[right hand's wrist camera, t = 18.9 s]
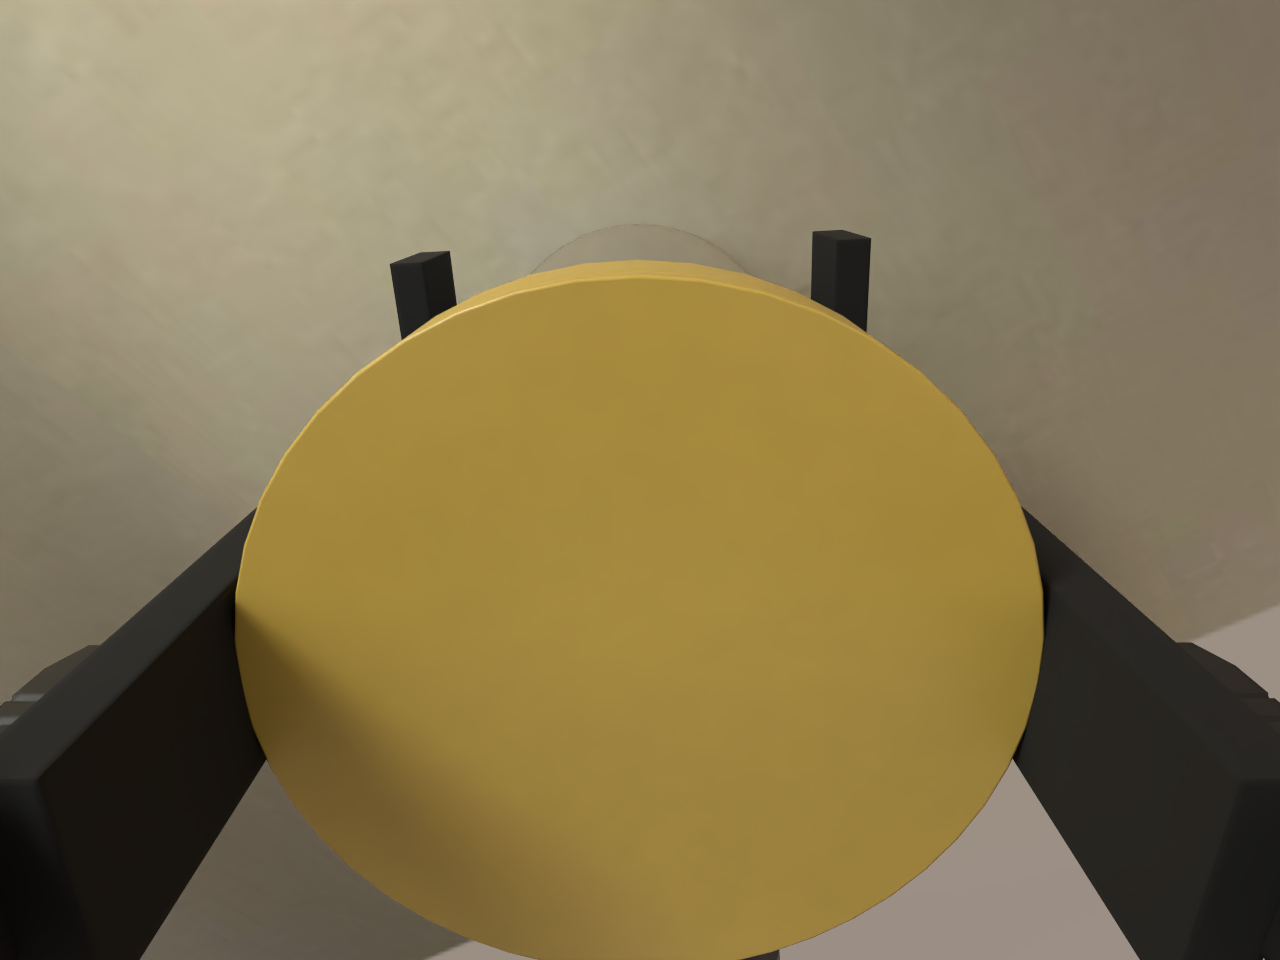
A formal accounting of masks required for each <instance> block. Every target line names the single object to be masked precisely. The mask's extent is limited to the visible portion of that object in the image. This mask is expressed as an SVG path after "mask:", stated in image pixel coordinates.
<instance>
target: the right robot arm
mask: <svg viewBox="0 0 1280 960" xmlns="http://www.w3.org/2000/svg"><path fill="white" fill-rule="evenodd" d="M1021 508H1022V511H1023V513H1024V516H1025V519H1026V522H1027V525H1028V528H1029V530H1030V533H1031V536H1032V539H1033V542H1034V545H1035V550H1036V556H1037V561H1038V566H1039V572H1040V577H1041V583H1042V588H1043V607H1044V645H1043V653H1042V659H1041V664H1040V670H1039V675H1038V680H1037V685H1036V690H1035V694H1034V699H1033V703H1032V708H1031V712H1030V716H1029V719H1028V723H1027V726H1026V729H1025V731H1024V733H1023V735H1022V738H1021V740H1020V742H1019V744H1018V747H1017V749H1016V751H1015V753H1014V756H1013V760H1014V762H1015V763H1016V765H1017V766H1018V768H1019V769H1020V771H1021V773H1022V774H1023V776H1024V777H1025V779H1026V780H1027V782H1028V784H1029V785H1030V787H1031V788H1032V790H1033V792H1034V793H1035V795H1036V796H1037V798H1038V799H1039V801H1040V803H1041V804H1042V806H1043V807H1044V809H1045V810H1046V812H1047V814H1048V815H1049V817H1050V818H1051V820H1052V821H1053V823H1054V825H1055V826H1056V828H1057V829H1058V831H1059V833H1060V834H1061V836H1062V837H1063V839H1064V841H1065V842H1066V844H1067V845H1068V847H1069V848H1070V850H1071V852H1072V853H1073V855H1074V856H1075V858H1076V859H1077V861H1078V863H1079V864H1080V866H1081V867H1082V869H1083V870H1084V872H1085V874H1086V875H1087V877H1088V878H1089V880H1090V882H1091V883H1092V885H1093V886H1094V888H1095V889H1096V891H1097V893H1098V894H1099V896H1100V897H1101V899H1102V901H1103V902H1104V904H1105V905H1106V907H1107V908H1108V910H1109V911H1110V913H1111V915H1112V916H1113V918H1114V919H1115V921H1116V923H1117V924H1118V926H1119V927H1120V929H1121V930H1122V932H1123V934H1124V935H1125V937H1126V938H1127V940H1128V942H1129V943H1130V945H1131V946H1132V948H1133V949H1134V951H1135V953H1136V954H1137V956H1138V957H1139V959H1140V960H1263V958H1264V959H1265V960H1280V702H1278V701H1277V700H1276V699H1275V698H1269V697H1268V692H1266V691H1265V690H1264V689H1263V688H1262V687H1260V686H1259V685H1258V684H1257V683H1256V682H1254V681H1253V680H1252V679H1251V678H1249V677H1248V676H1247V675H1246V674H1245V673H1243V672H1242V671H1241V670H1240V669H1239V668H1238V667H1236V666H1235V665H1233V664H1231V663H1229V662H1227V661H1226V660H1224V659H1222V658H1220V657H1218V656H1216V655H1214V654H1212V653H1210V652H1208V651H1206V650H1205V649H1203V648H1201V647H1199V646H1197V645H1195V644H1193V643H1176V642H1175V641H1173V640H1172V639H1171V638H1170V637H1169V636H1168V635H1167V634H1166V633H1164V632H1163V631H1162V630H1161V629H1160V628H1159V627H1158V626H1156V625H1155V624H1154V623H1153V622H1152V621H1151V620H1150V619H1149V618H1147V617H1146V616H1145V615H1144V614H1143V613H1142V612H1141V611H1139V610H1138V609H1137V608H1136V607H1135V606H1134V605H1133V604H1132V603H1130V602H1129V601H1128V600H1127V599H1126V598H1125V597H1124V596H1122V595H1121V594H1120V593H1119V592H1118V591H1117V590H1116V589H1114V588H1113V587H1112V586H1111V585H1110V584H1109V583H1108V582H1107V581H1105V580H1104V579H1103V578H1102V577H1101V576H1100V575H1099V574H1097V573H1096V572H1095V571H1094V570H1093V569H1092V568H1091V567H1090V566H1088V565H1087V564H1086V563H1085V562H1084V561H1083V560H1082V559H1080V558H1079V557H1078V556H1077V555H1076V554H1075V553H1074V552H1073V551H1071V550H1070V549H1069V548H1068V547H1067V546H1066V545H1065V544H1063V543H1062V542H1061V541H1060V540H1059V539H1058V538H1057V537H1056V536H1054V535H1053V534H1052V533H1051V532H1050V531H1049V530H1048V529H1046V528H1045V527H1044V526H1043V525H1042V524H1041V523H1040V522H1038V521H1037V520H1036V519H1035V518H1034V517H1033V516H1032V515H1031V514H1029V513H1028V512H1027V511H1026V510H1025V509H1024V508H1023V507H1021ZM256 510H257V508H256V509H255V510H253V511H252V512H251V513H250V514H249V515H248V516H247V517H245V518H244V519H243V520H242V521H241V522H240V523H239V524H238V525H236V526H235V527H234V528H233V529H232V530H231V531H230V532H228V533H227V534H226V535H225V536H224V537H223V538H222V539H221V540H219V541H218V542H217V543H216V544H215V545H214V546H213V547H211V548H210V549H209V550H208V551H207V552H206V553H205V554H204V555H202V556H201V557H200V558H199V559H198V560H197V561H196V562H194V563H193V564H192V565H191V566H190V567H189V568H188V569H186V570H185V571H184V572H183V573H182V574H181V575H180V576H179V577H177V578H176V579H175V580H174V581H173V582H172V583H171V584H169V585H168V586H167V587H166V588H165V589H164V590H163V591H162V592H160V593H159V594H158V595H157V596H156V597H155V598H154V599H152V600H151V601H150V602H149V603H148V604H147V605H146V606H145V607H143V608H142V609H141V610H140V611H139V612H138V613H137V614H135V615H134V616H133V617H132V618H131V619H130V620H129V621H128V622H126V623H125V624H124V625H123V626H122V627H121V628H120V629H118V630H117V631H116V632H115V633H114V634H113V635H112V636H110V637H109V638H108V639H107V640H106V641H105V642H104V643H103V644H101V645H89V646H87V647H85V648H83V649H81V650H79V651H77V652H75V653H74V654H72V655H70V656H68V657H66V658H64V659H62V660H60V661H58V662H57V663H55V664H53V665H51V666H49V667H47V668H45V669H44V670H43V671H41V672H40V673H39V674H38V675H37V676H35V677H34V678H33V679H32V680H31V681H30V682H28V683H27V684H26V685H25V686H24V687H22V688H21V689H20V690H19V691H18V692H16V693H15V694H14V695H13V696H12V701H11V702H4V703H3V704H2V705H1V706H0V960H140V958H141V957H142V955H143V953H144V952H145V950H146V949H147V947H148V946H149V944H150V942H151V941H152V939H153V938H154V936H155V934H156V933H157V931H158V930H159V928H160V927H161V925H162V923H163V922H164V920H165V919H166V917H167V915H168V914H169V912H170V911H171V909H172V908H173V906H174V904H175V903H176V901H177V900H178V898H179V897H180V895H181V893H182V892H183V890H184V889H185V887H186V885H187V884H188V882H189V881H190V879H191V878H192V876H193V874H194V873H195V871H196V870H197V868H198V867H199V865H200V863H201V862H202V860H203V859H204V857H205V855H206V854H207V852H208V851H209V849H210V848H211V846H212V844H213V843H214V841H215V840H216V838H217V837H218V835H219V833H220V832H221V830H222V829H223V827H224V825H225V824H226V822H227V821H228V819H229V818H230V816H231V814H232V813H233V811H234V810H235V808H236V807H237V805H238V803H239V802H240V800H241V799H242V797H243V795H244V794H245V792H246V791H247V789H248V788H249V786H250V784H251V783H252V781H253V780H254V778H255V777H256V775H257V773H258V772H259V770H260V769H261V767H262V765H263V764H264V762H265V761H266V759H267V758H266V756H265V754H264V752H263V749H262V747H261V745H260V743H259V740H258V738H257V736H256V734H255V732H254V729H253V727H252V723H251V720H250V716H249V712H248V707H247V703H246V698H245V694H244V690H243V685H242V680H241V674H240V669H239V664H238V659H237V653H236V647H235V599H236V588H237V582H238V577H239V571H240V566H241V560H242V555H243V549H244V544H245V542H246V539H247V536H248V533H249V530H250V527H251V525H252V522H253V519H254V516H255V513H256Z"/></svg>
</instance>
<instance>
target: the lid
mask: <svg viewBox="0 0 1280 960" xmlns="http://www.w3.org/2000/svg"><path fill="white" fill-rule="evenodd" d="M1043 645H1044V607H1043V588H1042V583H1041V577H1040V572H1039V566H1038V561H1037V556H1036V550H1035V545H1034V542H1033V539H1032V536H1031V533H1030V530H1029V528H1028V525H1027V522H1026V519H1025V516H1024V513H1023V511H1022V508H1021V505H1020V502H1019V499H1018V497H1017V495H1016V493H1015V491H1014V490H1013V488H1012V486H1011V484H1010V482H1009V480H1008V478H1007V477H1006V475H1005V473H1004V471H1003V469H1002V467H1001V466H1000V464H999V462H998V460H997V458H996V456H995V455H994V453H993V451H992V450H991V449H990V447H989V446H988V445H987V444H986V442H985V441H984V440H983V438H982V437H981V436H980V434H979V433H978V432H977V430H976V429H975V428H974V427H973V425H972V424H971V423H970V421H969V420H968V419H967V417H966V416H965V415H964V414H963V412H962V411H961V410H960V409H959V408H958V407H957V406H956V405H955V404H954V403H953V402H952V401H951V400H950V399H949V398H948V397H947V396H946V395H945V394H944V393H943V392H942V391H940V390H939V389H938V388H937V387H936V386H935V385H934V384H933V383H932V382H931V381H930V380H929V379H928V378H927V377H926V376H925V375H924V374H923V373H922V372H921V371H919V370H918V369H916V368H915V367H914V366H912V365H911V364H909V363H908V362H907V361H905V360H904V359H903V358H901V357H900V356H898V355H897V354H896V353H894V352H893V351H891V350H890V349H889V348H887V347H886V346H884V345H883V344H882V343H880V342H879V341H877V340H876V339H875V338H873V337H872V336H870V335H869V334H868V333H866V332H865V331H863V330H862V329H860V328H859V327H858V326H856V325H855V324H853V323H852V322H851V321H849V320H848V319H846V318H845V317H844V316H842V315H840V314H838V313H836V312H834V311H833V310H831V309H829V308H827V307H825V306H823V305H821V304H819V303H817V302H815V301H813V300H811V299H809V298H807V297H805V296H804V295H802V294H800V293H798V292H796V291H793V290H790V289H787V288H784V287H781V286H779V285H776V284H773V283H770V282H767V281H764V280H761V279H759V278H756V277H753V276H750V275H747V274H743V273H738V272H733V271H729V270H724V269H719V268H714V267H709V266H704V265H699V264H694V263H681V262H666V261H651V260H627V261H613V262H598V263H584V264H579V265H575V266H570V267H565V268H560V269H555V270H551V271H546V272H541V273H536V274H531V275H529V276H526V277H523V278H520V279H517V280H515V281H512V282H509V283H506V284H503V285H501V286H498V287H495V288H492V289H489V290H486V291H484V292H481V293H479V294H477V295H475V296H473V297H471V298H470V299H468V300H466V301H464V302H462V303H460V304H458V305H456V306H454V307H452V308H450V309H448V310H447V311H445V312H443V313H441V314H439V315H437V316H435V317H434V318H432V319H431V320H430V321H428V322H427V323H425V324H424V325H423V326H421V327H420V328H418V329H417V330H416V331H414V332H413V333H411V334H410V335H409V336H407V337H406V338H404V339H403V340H402V341H400V342H399V343H398V344H396V345H395V346H393V347H392V348H391V349H389V350H388V351H386V352H385V353H384V354H382V355H381V356H379V357H378V358H377V359H375V360H374V361H372V362H371V363H370V364H368V365H367V366H365V367H364V368H363V369H361V370H360V371H359V372H357V373H356V374H355V375H354V376H353V377H352V378H351V379H350V380H349V381H348V382H347V383H346V384H345V385H344V386H343V387H342V388H341V389H340V390H338V391H337V392H336V393H335V394H334V395H333V396H332V397H331V398H330V399H329V400H328V401H327V402H326V403H325V404H324V405H323V406H322V407H321V408H320V409H319V410H318V411H317V412H316V413H315V415H314V416H313V417H312V419H311V420H310V421H309V423H308V424H307V425H306V426H305V428H304V429H303V430H302V432H301V433H300V434H299V436H298V437H297V438H296V440H295V441H294V442H293V444H292V445H291V446H290V448H289V449H288V450H287V452H286V453H285V454H284V456H283V458H282V460H281V462H280V464H279V465H278V467H277V469H276V471H275V473H274V475H273V477H272V478H271V480H270V482H269V484H268V486H267V488H266V490H265V491H264V493H263V495H262V497H261V499H260V502H259V505H258V507H257V510H256V513H255V516H254V519H253V522H252V525H251V527H250V530H249V533H248V536H247V539H246V542H245V544H244V549H243V555H242V560H241V566H240V571H239V577H238V582H237V588H236V599H235V647H236V653H237V659H238V664H239V669H240V674H241V680H242V685H243V690H244V694H245V698H246V703H247V707H248V712H249V716H250V720H251V723H252V727H253V729H254V732H255V734H256V736H257V738H258V740H259V743H260V745H261V747H262V749H263V752H264V754H265V756H266V758H267V761H268V763H269V765H270V767H271V769H272V771H273V772H274V774H275V776H276V777H277V779H278V780H279V782H280V784H281V785H282V787H283V788H284V790H285V792H286V793H287V795H288V796H289V798H290V800H291V801H292V803H293V804H294V806H295V807H296V808H297V810H298V811H299V812H300V813H301V815H302V816H303V817H304V818H305V819H306V821H307V822H308V823H309V824H310V826H311V827H312V828H313V829H314V830H315V832H316V833H317V834H318V835H319V837H320V838H321V839H322V840H323V841H324V842H325V843H326V844H327V845H328V846H329V847H330V848H331V849H332V850H333V851H334V852H335V853H337V854H338V855H339V856H340V857H341V858H342V859H343V860H344V861H345V862H346V863H347V864H348V865H349V866H350V867H351V868H352V869H353V870H354V871H356V872H357V873H358V874H360V875H361V876H362V877H364V878H365V879H366V880H368V881H369V882H370V883H372V884H373V885H374V886H375V887H377V888H378V889H379V890H381V891H382V892H383V893H385V894H386V895H387V896H389V897H390V898H392V899H394V900H395V901H397V902H399V903H400V904H402V905H404V906H405V907H407V908H409V909H410V910H412V911H414V912H415V913H417V914H419V915H420V916H422V917H424V918H425V919H427V920H429V921H431V922H434V923H436V924H438V925H440V926H442V927H444V928H446V929H449V930H451V931H453V932H455V933H457V934H459V935H462V936H464V937H466V938H468V939H471V940H474V941H477V942H480V943H483V944H486V945H489V946H491V947H495V948H498V949H500V950H503V951H506V952H509V953H513V954H517V955H521V956H526V957H530V958H534V959H538V960H741V959H745V958H749V957H753V956H757V955H761V954H765V953H770V952H773V951H776V950H779V949H781V948H784V947H787V946H790V945H793V944H796V943H798V942H802V941H804V940H807V939H810V938H813V937H815V936H817V935H819V934H822V933H824V932H826V931H828V930H830V929H832V928H834V927H836V926H839V925H841V924H843V923H845V922H847V921H849V920H851V919H854V918H855V917H857V916H859V915H860V914H862V913H863V912H865V911H867V910H868V909H870V908H872V907H873V906H875V905H877V904H878V903H880V902H882V901H883V900H885V899H887V898H888V897H890V896H891V895H893V894H894V893H895V892H897V891H898V890H899V889H901V888H902V887H903V886H905V885H906V884H907V883H908V882H910V881H911V880H912V879H914V878H915V877H916V876H918V875H919V874H920V873H922V872H923V871H924V870H926V869H927V868H928V867H929V866H930V865H931V864H932V863H933V862H934V861H935V860H936V859H937V858H938V857H939V856H940V855H941V854H942V853H943V852H944V851H945V850H946V849H947V848H948V847H949V846H951V845H952V844H953V843H954V842H955V841H956V840H957V839H958V838H959V836H960V835H961V834H962V833H963V831H964V830H965V829H966V828H967V826H968V825H969V824H970V823H971V822H972V820H973V819H974V818H975V817H976V815H977V814H978V813H979V812H980V810H981V809H982V808H983V807H984V805H985V804H986V803H987V801H988V799H989V798H990V796H991V795H992V793H993V791H994V790H995V788H996V786H997V785H998V783H999V782H1000V780H1001V778H1002V777H1003V775H1004V773H1005V772H1006V770H1007V769H1008V767H1009V765H1010V762H1011V760H1012V758H1013V756H1014V753H1015V751H1016V749H1017V747H1018V744H1019V742H1020V740H1021V738H1022V735H1023V733H1024V731H1025V729H1026V726H1027V723H1028V719H1029V716H1030V712H1031V708H1032V703H1033V699H1034V694H1035V690H1036V685H1037V680H1038V675H1039V670H1040V664H1041V659H1042V653H1043Z"/></svg>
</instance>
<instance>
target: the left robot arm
mask: <svg viewBox="0 0 1280 960" xmlns="http://www.w3.org/2000/svg"><path fill="white" fill-rule="evenodd" d="M870 249H871V238H868V237H865V236H861V235H858V234H854V233H851V232H848V231H844V230H833V231H814V232H813V238H812V280H811V300H813V301H815V302H817V303H819V304H821V305H823V306H825V307H827V308H829V309H831V310H833V311H834V312H836V313H838V314H840V315H842V316H844V317H845V318H846V319H848V320H849V321H851V322H852V323H853V324H855V325H856V326H858V327H859V328H860V329H862V330H863V331H865V332H866V331H867V310H868V290H869V269H870ZM390 268H391V274H392V281H393V287H394V293H395V300H396V306H397V313H398V319H399V325H400V332H401V338H402V340H403V339H404V338H406V337H407V336H409V335H410V334H411V333H413V332H414V331H416V330H417V329H418V328H420V327H421V326H423V325H424V324H425V323H427V322H428V321H430V320H431V319H432V318H434V317H435V316H437V315H439V314H441V313H443V312H445V311H447V310H448V309H450V308H452V307H454V306H456V305H457V303H456V296H455V288H454V280H453V273H452V265H451V257H450V251H441V252H423V253H418V254H415V255H413V256H410V257H407V258H405V259H402V260H399V261H397V262H394V263H391V264H390ZM741 960H780V955H779V950H776V951H773V952H770V953H765V954H761V955H757V956H753V957H749V958H745V959H741Z"/></svg>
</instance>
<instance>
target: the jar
mask: <svg viewBox="0 0 1280 960" xmlns="http://www.w3.org/2000/svg"><path fill="white" fill-rule="evenodd" d="M627 260H651V261H666V262H681V263H694V264H699V265H704V266H709V267H714V268H719V269H724V270H729V271H733V272H738V273H743V274H747V275H749V274H748V273H747V272H746V271H745V270H744V269H743V268H742V267H741V266H740V265H738V264H737V263H736V262H735V261H734V260H733V259H732V258H731V257H729V256H728V255H727V254H726V253H724V252H723V251H721V250H720V249H718V248H717V247H715V246H714V245H712V244H711V243H709V242H707V241H705V240H703V239H701V238H699V237H697V236H694V235H692V234H689V233H686V232H683V231H680V230H677V229H672V228H667V227H662V226H656V225H626V226H616V227H612V228H607V229H603V230H599V231H596V232H593V233H590V234H588V235H585V236H583V237H580V238H578V239H576V240H574V241H573V242H571V243H569V244H567V245H565V246H563V247H562V248H560V249H559V250H558V251H556V252H555V253H554V254H552V255H551V256H550V257H548V258H547V259H546V260H545V261H544V262H543V263H542V264H541V265H540V266H539V267H538V268H536V269H535V270H534V271H533V272H532V273H531V274H536V273H541V272H546V271H551V270H555V269H560V268H565V267H570V266H575V265H579V264H584V263H598V262H613V261H627ZM531 274H530V275H531Z"/></svg>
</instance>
